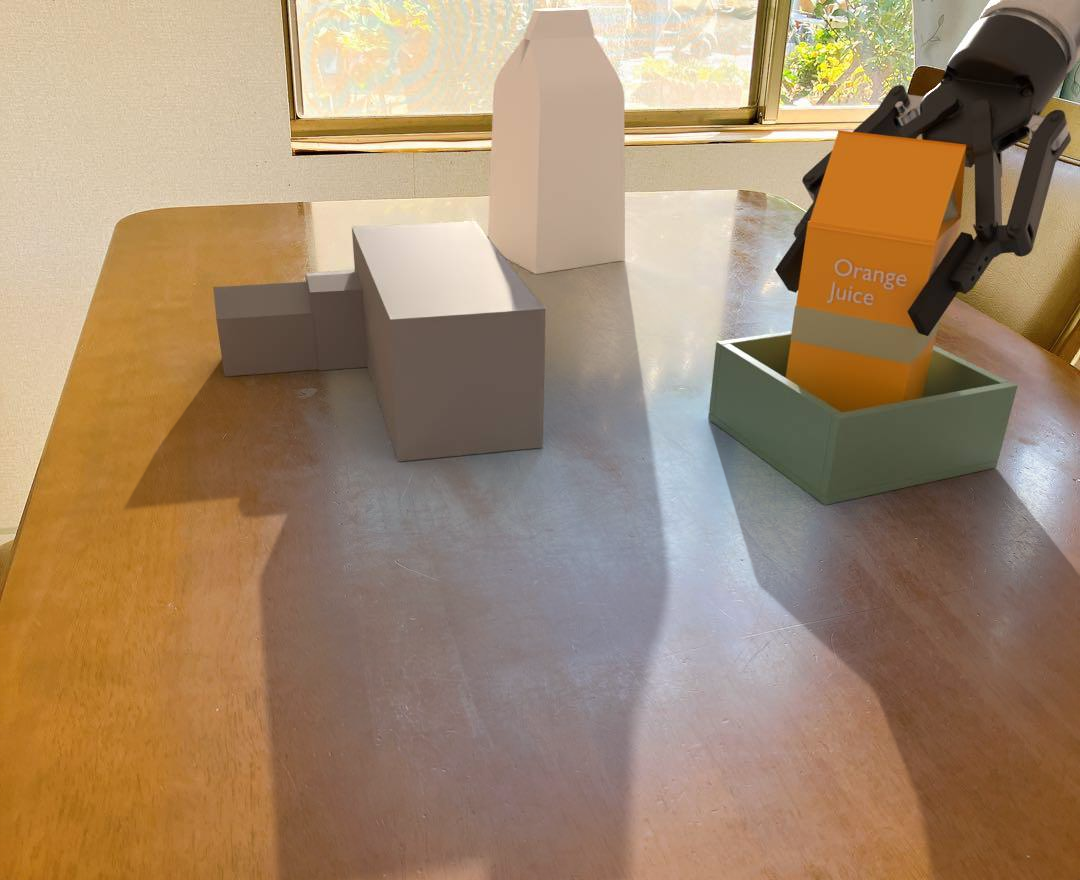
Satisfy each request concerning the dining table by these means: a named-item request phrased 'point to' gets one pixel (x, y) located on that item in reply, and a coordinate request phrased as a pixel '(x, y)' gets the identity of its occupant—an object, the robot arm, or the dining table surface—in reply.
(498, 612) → the dining table surface
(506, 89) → the milk
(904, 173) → the orange juice
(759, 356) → the crate
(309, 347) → the grey stepped block
